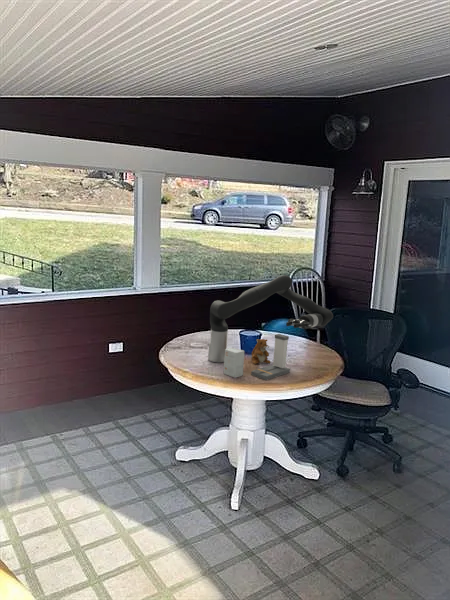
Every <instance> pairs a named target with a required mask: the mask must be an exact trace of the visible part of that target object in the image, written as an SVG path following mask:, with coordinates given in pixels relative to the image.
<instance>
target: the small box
mask: <svg viewBox="0 0 450 600" xmlns="http://www.w3.org/2000/svg"><path fill="white" fill-rule="evenodd" d="M244 362H245V350H243V349H240V348H235V347H230V348H227V349H225V358H224V362H223V374H224V375H227V376H229V377H232V378H239V377H242V376H244V365H245V363H244Z"/></svg>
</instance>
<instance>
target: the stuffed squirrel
mask: <svg viewBox="0 0 450 600" xmlns="http://www.w3.org/2000/svg"><path fill="white" fill-rule="evenodd" d="M256 342H257V343H256V344H255V346H254V348H253V349H252V351H251V361H252V364H253V365H257V364H259V363H260V364H261V363H264V364H270V363H271V361H270V360H269V359H268V357H269V356H270V353H269V351H267V348H270V346H269V345H268V343H267V342H268V339H264V338H260V339H258V338H257V339H256Z"/></svg>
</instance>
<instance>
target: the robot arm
mask: <svg viewBox="0 0 450 600" xmlns="http://www.w3.org/2000/svg"><path fill="white" fill-rule="evenodd" d="M292 284H293V280H292V278H291V277H290V276H289V275H287V274H281V275H278V276H276V277H275V278H274V279H272V280H270V281H267V282H265V283H263V284H259V285H256V286H254V287H251V288H249V289H247V290H244V291H243V292H242V293H241V294H240V295H239V296H238V297H237V298H236V299H233V300H231V301H223V300H220V299H219V300H218V299H217V300H214V301H213V302H212V303H211V305H210V310H209V324H210V340H209V341H210V342H209V343H208V351H207V354H208V355H207V361H210V362H213V363H224V358H225V349H228V347H227V346H228V333H229V331H228V330H229V326H228V324H227V322H226V319H228V318H230V317H232V316H234V315H235V314H238V313H239V312H241V311H243V310H246V309H248V308H250V307H253V306H256V305H258V304H260V303H261V302H263V301H265V300H267V299H268V298H269V297H271V296H272V295H275V294H278V295H279V296H281V297H283V298H285V299H287V300H288V301H290V302H292V303H294V304H295V305H296V306H299V307H300V308H301V309H303V310H304V311H305V312H306V313H308V314H304V315H301V316H300V317H299V318H296V319H294V318H289V319H288V320H287V321H286V323H285V324H286V325H285V326H286V327H291V326H293V328H294V329H297V328H299V329H303V330H307V329H311V328H314V327H317V326H318V327H325V326H327V324H329V323H330V322H331V320H333V318H334V314H333V312H332V310H330V309H328V308H326V307H324V306H321V305H319V304H317V303H316V302H315V301H313V300H312V299H311V298H309V297H307V296H305V295H302V294H300V293H296V292H295V291H293V290H292V289H291V287H292Z"/></svg>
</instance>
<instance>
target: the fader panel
mask: <svg viewBox="0 0 450 600" xmlns="http://www.w3.org/2000/svg"><path fill="white" fill-rule="evenodd" d="M290 372H291V368H290V367H289V368H288V367H287V366H286V367H285V368H279V367H276V366H273V364H269V365H266V366H264V367H263V366H262V367H261V368H257V369H254V370H251V371H250V375H251V376H253V377H256V378H259V379H261V380H264V381H267V380H271V379H273V378H277V377H279V376H282V375H283V376H284V375H286V374H289V373H290Z"/></svg>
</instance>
